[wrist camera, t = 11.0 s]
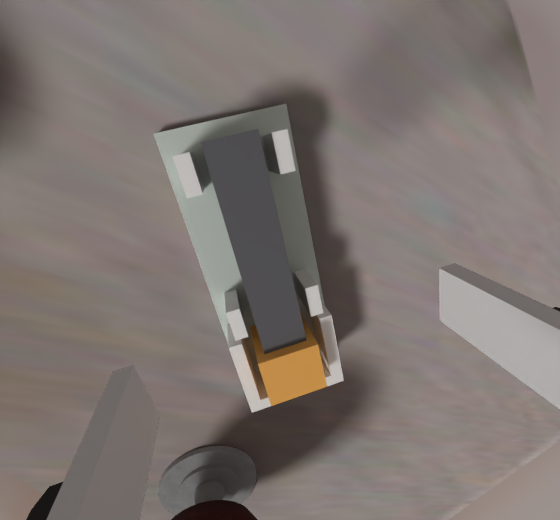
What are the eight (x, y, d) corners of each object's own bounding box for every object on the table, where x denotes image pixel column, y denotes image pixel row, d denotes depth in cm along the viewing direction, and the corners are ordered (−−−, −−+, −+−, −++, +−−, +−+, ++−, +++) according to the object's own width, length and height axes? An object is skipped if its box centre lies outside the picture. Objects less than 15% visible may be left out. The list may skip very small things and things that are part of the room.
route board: (155, 134, 24) (142, 129, 20) (283, 105, 25) (298, 94, 21) (242, 381, 34) (247, 416, 30) (331, 351, 36) (349, 381, 31)
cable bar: (193, 146, 24) (188, 144, 19) (258, 131, 25) (271, 124, 19) (261, 363, 33) (271, 406, 27) (308, 348, 33) (327, 386, 28)
